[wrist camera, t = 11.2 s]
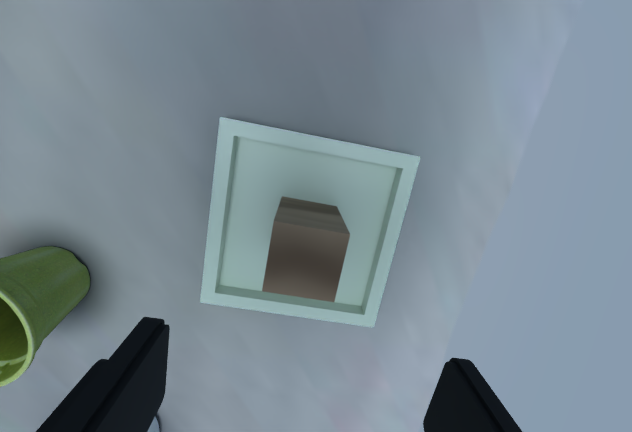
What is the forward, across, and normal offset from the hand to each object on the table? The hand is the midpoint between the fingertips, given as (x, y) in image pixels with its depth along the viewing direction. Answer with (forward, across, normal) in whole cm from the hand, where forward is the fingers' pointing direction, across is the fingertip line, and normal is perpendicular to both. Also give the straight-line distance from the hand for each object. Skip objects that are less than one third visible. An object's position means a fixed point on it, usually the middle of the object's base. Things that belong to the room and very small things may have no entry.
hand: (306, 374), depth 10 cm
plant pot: (+19, +22, +10) cm, 30 cm away
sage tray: (+19, 0, +1) cm, 19 cm away
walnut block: (+18, 0, +1) cm, 18 cm away
